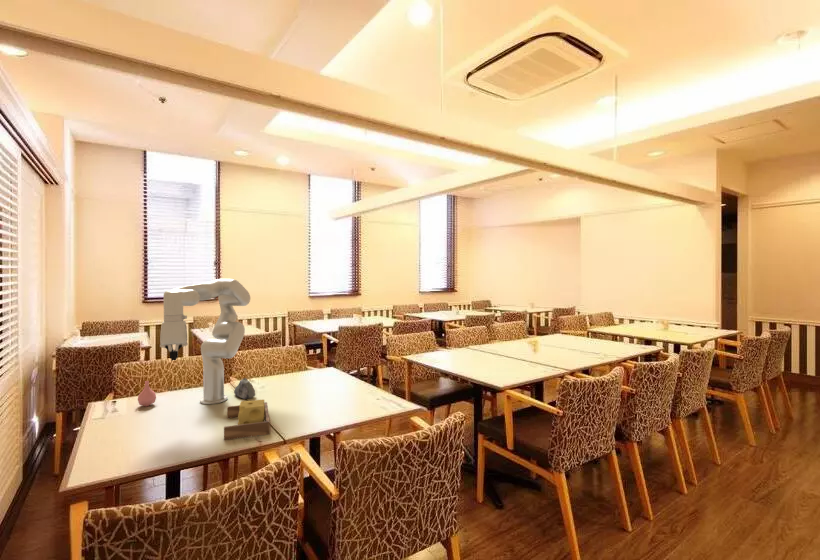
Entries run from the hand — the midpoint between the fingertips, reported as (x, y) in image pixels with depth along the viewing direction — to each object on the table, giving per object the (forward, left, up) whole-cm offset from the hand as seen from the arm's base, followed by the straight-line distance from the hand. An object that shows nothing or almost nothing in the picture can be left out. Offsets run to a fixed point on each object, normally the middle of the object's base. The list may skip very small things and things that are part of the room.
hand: (174, 359), depth 179 cm
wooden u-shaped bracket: (+18, +30, -27) cm, 44 cm away
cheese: (+19, +32, -27) cm, 46 cm away
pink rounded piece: (-27, -16, -27) cm, 42 cm away
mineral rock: (-26, +29, -27) cm, 48 cm away
